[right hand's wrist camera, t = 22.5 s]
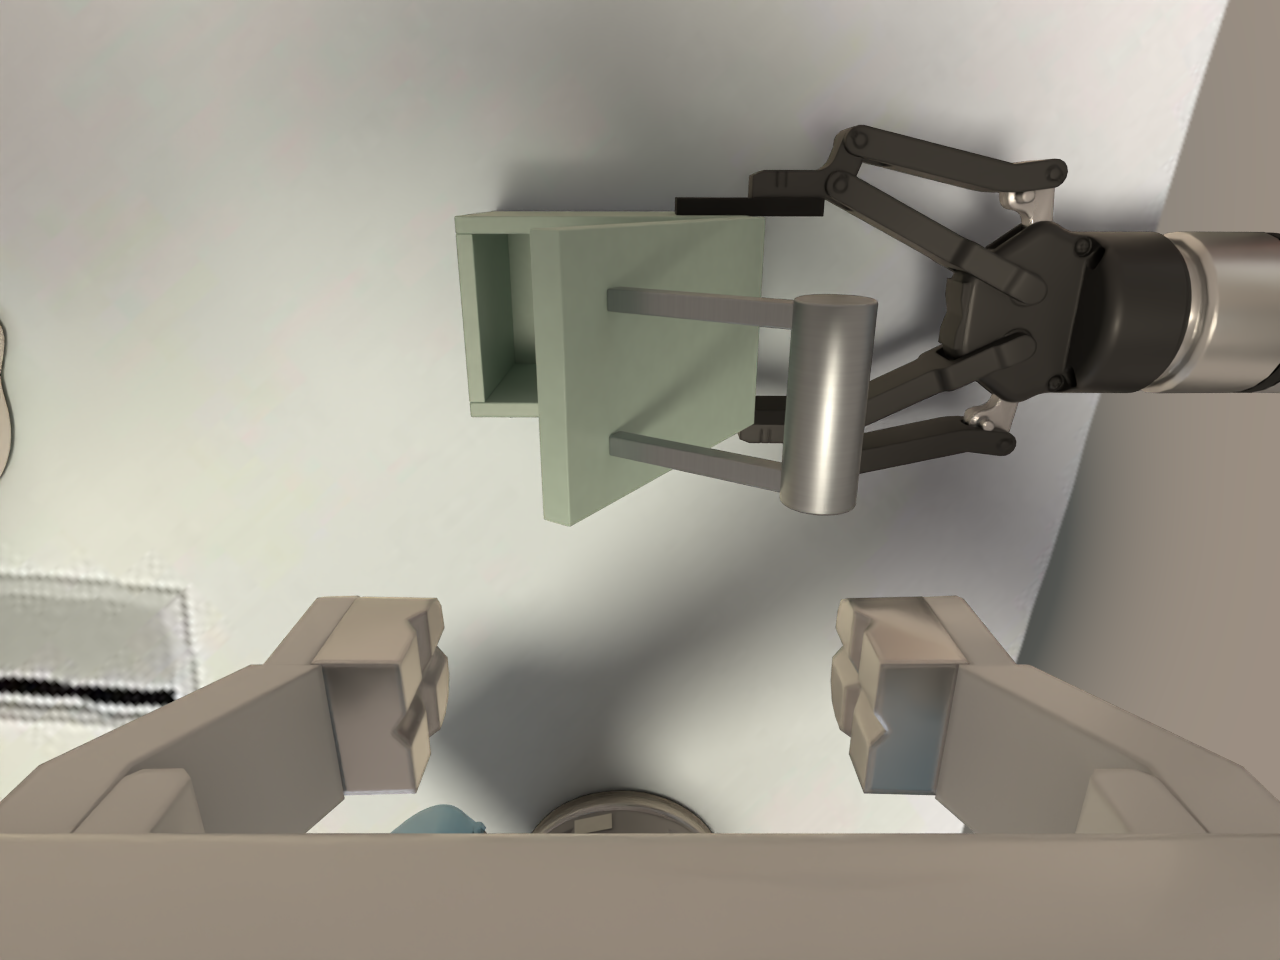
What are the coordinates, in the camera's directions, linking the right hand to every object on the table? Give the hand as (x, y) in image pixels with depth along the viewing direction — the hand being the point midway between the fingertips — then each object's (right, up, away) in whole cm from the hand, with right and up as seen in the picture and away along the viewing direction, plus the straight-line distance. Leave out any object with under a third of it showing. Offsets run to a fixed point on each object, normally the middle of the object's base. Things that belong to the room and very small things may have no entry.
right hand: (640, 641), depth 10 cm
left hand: (+2, +10, +26) cm, 28 cm away
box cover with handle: (+1, +7, +18) cm, 20 cm away
